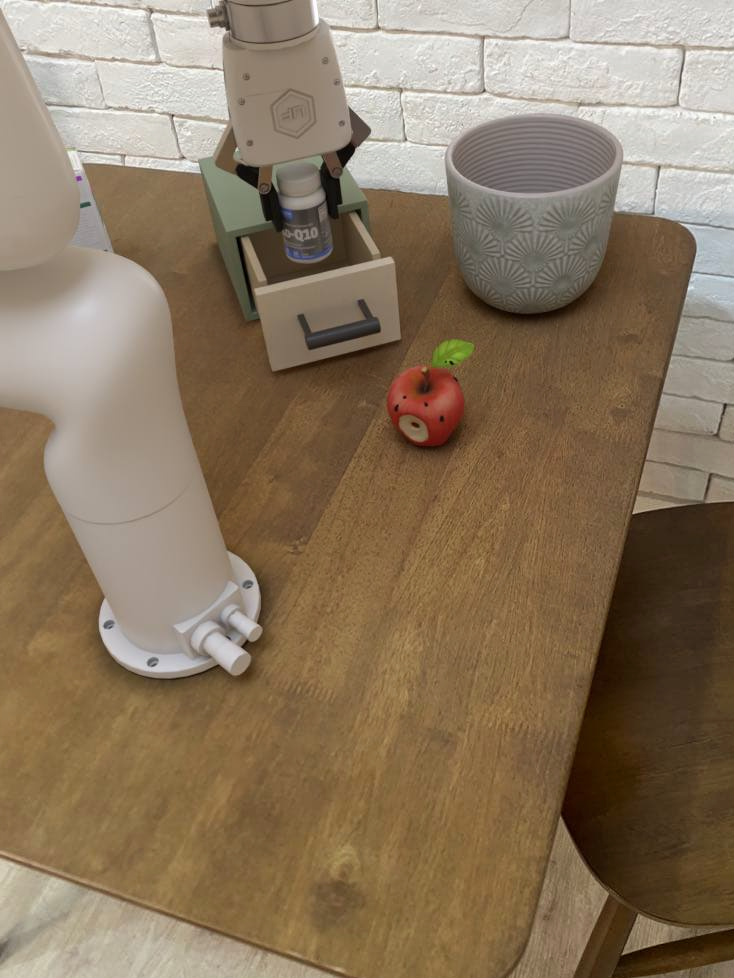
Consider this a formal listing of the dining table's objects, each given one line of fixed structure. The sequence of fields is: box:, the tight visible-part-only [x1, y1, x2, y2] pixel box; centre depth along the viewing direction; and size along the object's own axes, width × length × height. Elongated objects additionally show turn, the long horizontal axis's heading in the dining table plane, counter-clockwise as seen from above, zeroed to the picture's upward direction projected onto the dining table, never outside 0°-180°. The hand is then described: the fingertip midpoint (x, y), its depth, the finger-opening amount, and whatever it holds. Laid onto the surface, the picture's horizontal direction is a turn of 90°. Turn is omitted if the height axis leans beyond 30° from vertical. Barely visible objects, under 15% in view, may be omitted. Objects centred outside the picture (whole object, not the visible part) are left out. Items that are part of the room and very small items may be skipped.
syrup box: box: [65, 147, 115, 254], centre depth 102 cm, size 6×6×14 cm
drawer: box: [237, 210, 402, 372], centre depth 94 cm, size 20×13×9 cm, turn 18°
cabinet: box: [197, 150, 372, 323], centre depth 103 cm, size 17×15×11 cm
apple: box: [386, 338, 475, 447], centre depth 83 cm, size 8×7×10 cm
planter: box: [444, 112, 624, 315], centre depth 95 cm, size 17×17×15 cm
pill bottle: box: [276, 162, 333, 264], centre depth 89 cm, size 5×5×8 cm
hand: (304, 217), depth 90 cm, fingers closed on pill bottle, 4 cm apart
